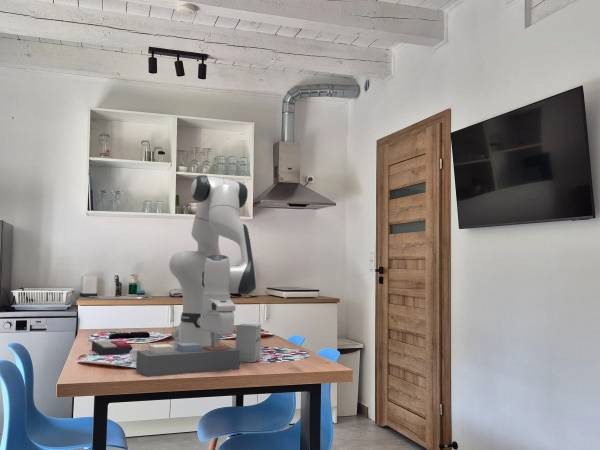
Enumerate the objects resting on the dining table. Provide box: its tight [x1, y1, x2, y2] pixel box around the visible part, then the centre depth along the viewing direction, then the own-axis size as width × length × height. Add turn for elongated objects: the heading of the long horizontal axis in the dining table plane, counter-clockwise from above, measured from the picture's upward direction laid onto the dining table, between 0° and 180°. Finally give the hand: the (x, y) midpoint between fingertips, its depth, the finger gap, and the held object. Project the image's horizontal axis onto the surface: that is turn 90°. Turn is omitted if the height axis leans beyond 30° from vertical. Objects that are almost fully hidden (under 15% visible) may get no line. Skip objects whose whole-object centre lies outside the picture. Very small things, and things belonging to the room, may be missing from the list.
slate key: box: [177, 343, 201, 353], centre depth 181 cm, size 6×6×4 cm
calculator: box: [91, 338, 133, 356], centre depth 215 cm, size 11×4×15 cm
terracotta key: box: [203, 344, 227, 351], centre depth 186 cm, size 6×6×4 cm
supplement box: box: [235, 323, 262, 363], centre depth 201 cm, size 7×7×13 cm
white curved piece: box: [124, 348, 142, 363], centre depth 196 cm, size 9×8×4 cm
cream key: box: [148, 343, 174, 354], centre depth 177 cm, size 6×6×4 cm
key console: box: [135, 345, 240, 377], centre depth 181 cm, size 12×30×6 cm, turn 121°
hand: (215, 346), depth 186 cm, fingers closed
